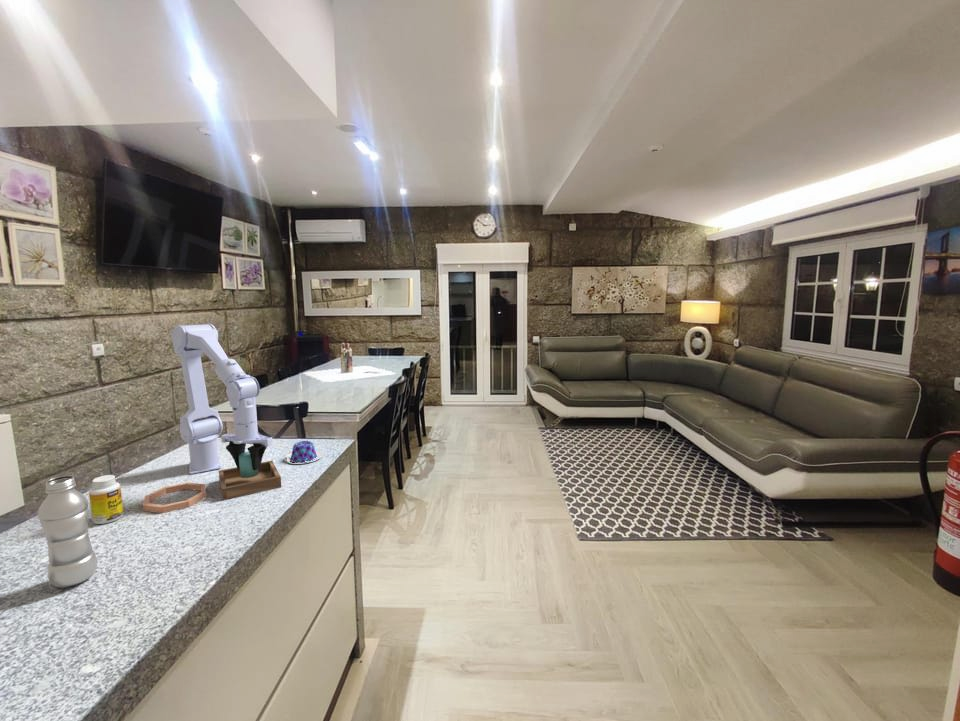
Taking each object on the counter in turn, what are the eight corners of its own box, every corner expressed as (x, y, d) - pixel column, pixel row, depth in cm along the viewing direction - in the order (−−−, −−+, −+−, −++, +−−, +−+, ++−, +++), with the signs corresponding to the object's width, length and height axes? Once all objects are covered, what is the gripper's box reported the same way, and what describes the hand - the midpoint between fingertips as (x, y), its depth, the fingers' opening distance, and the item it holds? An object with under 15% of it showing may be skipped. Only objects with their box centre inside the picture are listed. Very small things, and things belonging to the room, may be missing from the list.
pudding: (282, 467, 131) (281, 451, 130) (285, 454, 142) (285, 439, 142) (323, 463, 135) (322, 447, 134) (323, 450, 146) (323, 435, 146)
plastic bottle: (107, 573, 81) (94, 474, 78) (63, 597, 74) (46, 490, 71) (85, 566, 83) (72, 469, 80) (40, 588, 76) (24, 484, 73)
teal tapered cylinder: (236, 477, 117) (234, 456, 116) (251, 468, 123) (250, 448, 122) (250, 478, 116) (249, 457, 115) (265, 469, 122) (264, 450, 121)
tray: (219, 480, 121) (218, 470, 121) (272, 469, 129) (272, 460, 128) (222, 500, 110) (222, 489, 109) (281, 487, 118) (280, 476, 117)
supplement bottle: (111, 525, 97) (105, 483, 96) (86, 525, 97) (80, 483, 96) (130, 512, 103) (125, 473, 101) (106, 512, 103) (101, 473, 101)
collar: (146, 495, 111) (145, 490, 111) (204, 484, 119) (204, 479, 118) (142, 517, 101) (141, 511, 101) (206, 503, 108) (206, 497, 108)
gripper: (211, 423, 114) (215, 471, 116) (258, 427, 111) (262, 476, 113) (230, 416, 121) (234, 461, 123) (276, 420, 118) (278, 465, 120)
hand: (248, 468), depth 119 cm, fingers closed on teal tapered cylinder, 4 cm apart
